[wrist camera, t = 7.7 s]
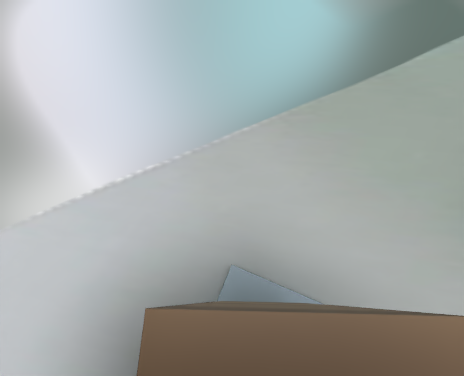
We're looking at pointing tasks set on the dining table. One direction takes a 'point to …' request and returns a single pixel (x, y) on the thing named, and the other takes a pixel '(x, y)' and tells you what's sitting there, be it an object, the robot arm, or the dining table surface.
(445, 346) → the pillar
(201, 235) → the dining table surface
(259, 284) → the slab
